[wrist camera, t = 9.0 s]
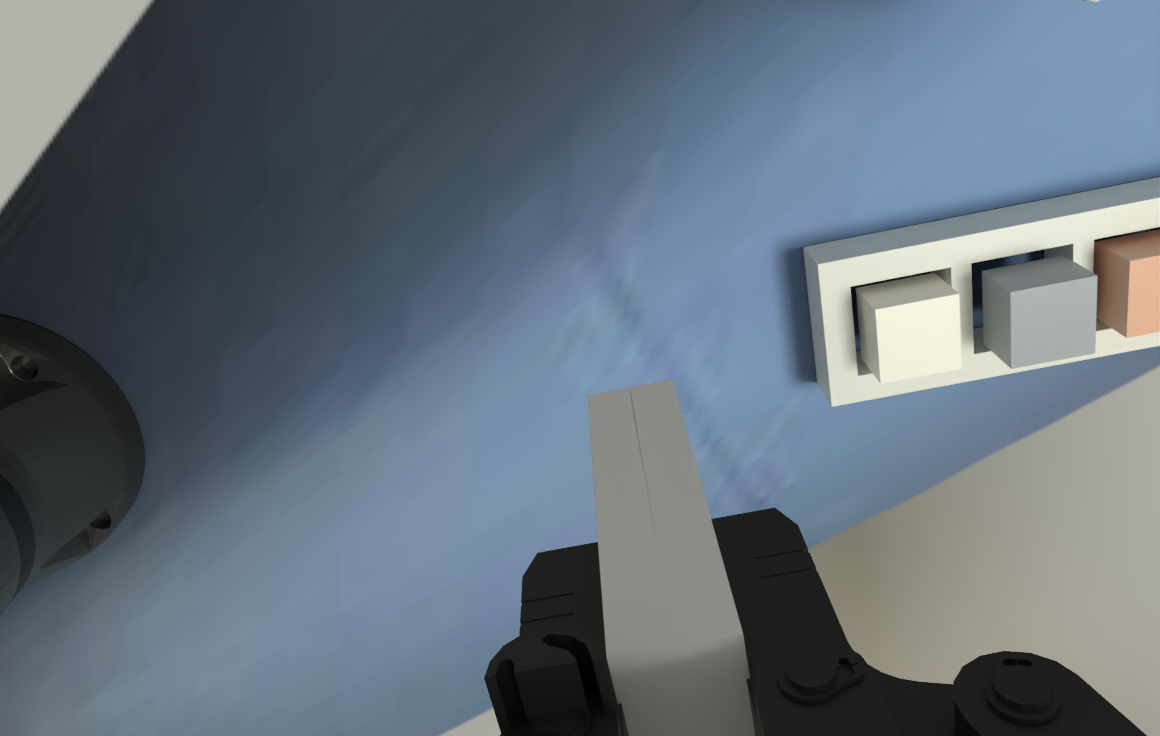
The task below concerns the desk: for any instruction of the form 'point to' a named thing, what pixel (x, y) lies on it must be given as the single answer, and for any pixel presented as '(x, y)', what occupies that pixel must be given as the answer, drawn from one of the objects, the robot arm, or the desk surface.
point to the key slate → (1039, 311)
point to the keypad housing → (963, 278)
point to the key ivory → (909, 327)
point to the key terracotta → (1129, 283)
